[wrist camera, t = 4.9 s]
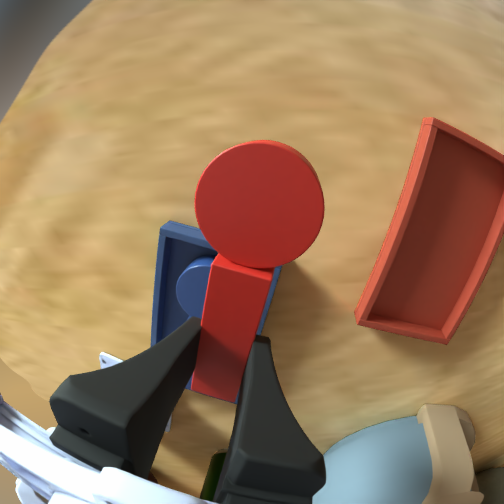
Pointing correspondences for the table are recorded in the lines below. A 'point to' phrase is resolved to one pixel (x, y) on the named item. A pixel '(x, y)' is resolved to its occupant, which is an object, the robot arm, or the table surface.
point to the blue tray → (169, 270)
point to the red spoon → (248, 248)
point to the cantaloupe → (491, 485)
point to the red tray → (437, 237)
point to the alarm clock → (405, 462)
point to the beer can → (213, 475)
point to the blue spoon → (194, 289)
